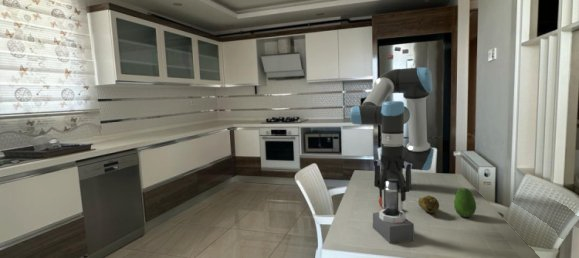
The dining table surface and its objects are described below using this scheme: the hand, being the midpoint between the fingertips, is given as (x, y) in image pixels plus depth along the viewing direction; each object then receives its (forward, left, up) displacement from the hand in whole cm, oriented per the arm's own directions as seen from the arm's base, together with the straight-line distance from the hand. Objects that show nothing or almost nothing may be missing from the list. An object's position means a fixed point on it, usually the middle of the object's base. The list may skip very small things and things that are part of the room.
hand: (392, 207), depth 115 cm
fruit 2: (-7, +36, -10) cm, 38 cm away
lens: (0, 0, -2) cm, 2 cm away
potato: (-15, +25, -10) cm, 31 cm away
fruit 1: (-23, +10, -10) cm, 27 cm away
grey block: (0, 0, -10) cm, 10 cm away
